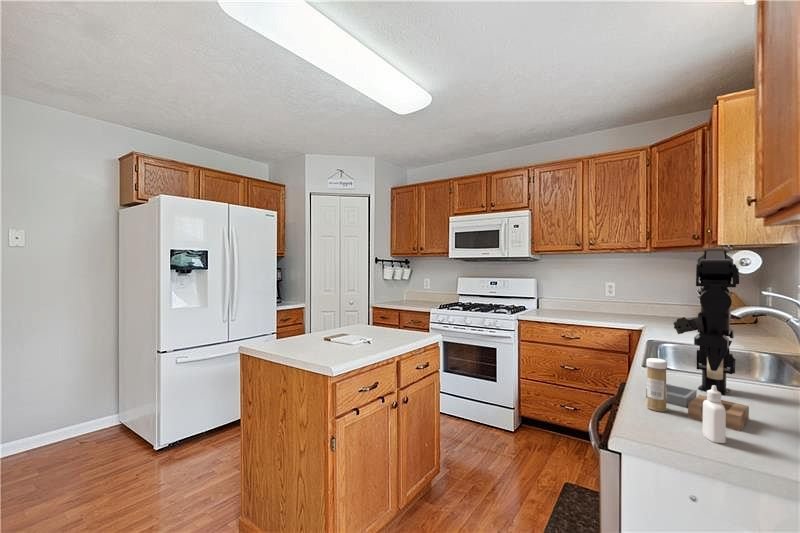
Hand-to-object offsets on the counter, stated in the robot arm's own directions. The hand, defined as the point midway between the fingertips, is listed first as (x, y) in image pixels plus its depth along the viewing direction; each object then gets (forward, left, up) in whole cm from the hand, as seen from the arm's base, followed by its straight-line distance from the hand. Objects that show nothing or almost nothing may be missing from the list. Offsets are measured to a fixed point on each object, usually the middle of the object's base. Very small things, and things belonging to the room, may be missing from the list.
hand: (714, 369), depth 96 cm
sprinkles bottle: (+6, -11, -13) cm, 18 cm away
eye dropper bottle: (+15, +3, -13) cm, 19 cm away
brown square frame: (+1, +1, -12) cm, 12 cm away
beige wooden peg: (0, 0, -2) cm, 2 cm away
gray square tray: (-6, -11, -12) cm, 18 cm away
